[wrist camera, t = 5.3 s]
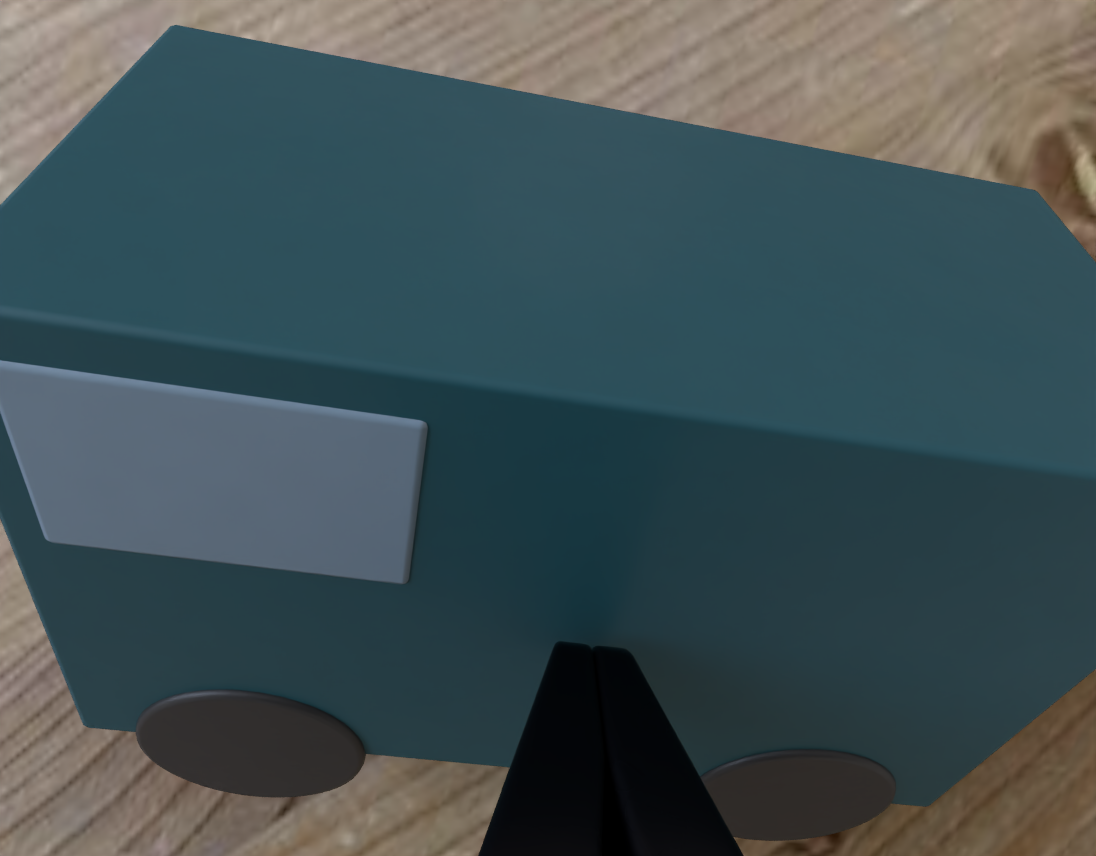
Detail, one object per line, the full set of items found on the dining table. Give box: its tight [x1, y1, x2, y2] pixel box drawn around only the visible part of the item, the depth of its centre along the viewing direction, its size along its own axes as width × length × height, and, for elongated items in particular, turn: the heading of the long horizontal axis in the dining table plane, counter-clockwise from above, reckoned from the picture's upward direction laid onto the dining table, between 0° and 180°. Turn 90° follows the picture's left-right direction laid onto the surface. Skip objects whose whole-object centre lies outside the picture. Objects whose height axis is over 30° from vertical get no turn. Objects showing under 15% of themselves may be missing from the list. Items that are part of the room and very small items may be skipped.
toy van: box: [0, 25, 1096, 841], centre depth 12 cm, size 12×6×8 cm
